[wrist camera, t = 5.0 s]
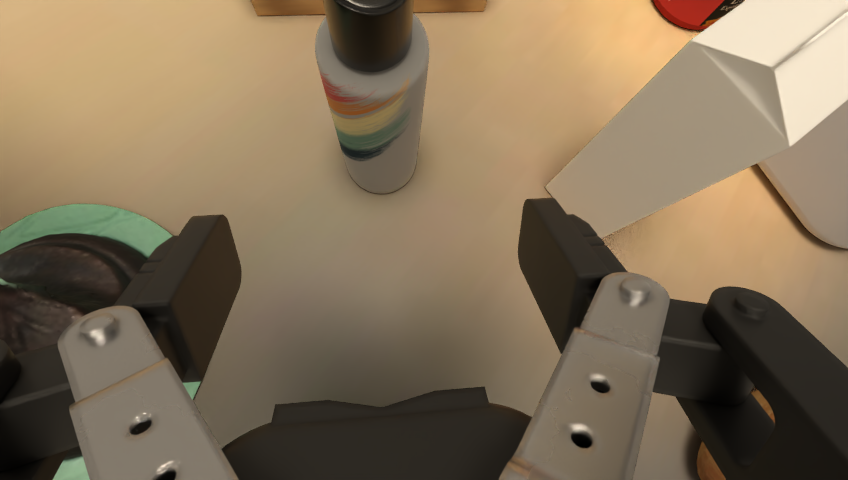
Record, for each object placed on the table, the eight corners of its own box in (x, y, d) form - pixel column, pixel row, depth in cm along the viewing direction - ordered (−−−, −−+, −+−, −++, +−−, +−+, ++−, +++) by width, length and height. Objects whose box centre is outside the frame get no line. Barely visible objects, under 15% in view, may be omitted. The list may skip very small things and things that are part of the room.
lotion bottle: (387, 117, 38) (378, -122, 18) (430, 167, 37) (470, -25, 17) (332, 156, 36) (260, -53, 17) (375, 209, 36) (352, 54, 16)
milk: (641, 203, 37) (981, 22, 16) (589, 244, 36) (878, 111, 15) (594, 147, 38) (858, -97, 17) (541, 186, 37) (750, -21, 16)
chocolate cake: (-119, 536, 28) (-102, 234, 33) (206, 445, 39) (185, 226, 43) (-303, 629, 16) (-237, 132, 21) (241, 460, 27) (207, 155, 31)
